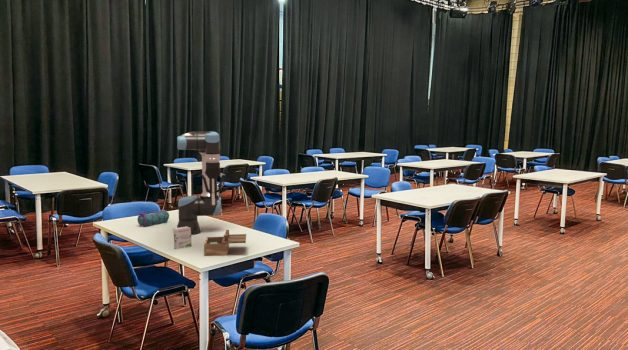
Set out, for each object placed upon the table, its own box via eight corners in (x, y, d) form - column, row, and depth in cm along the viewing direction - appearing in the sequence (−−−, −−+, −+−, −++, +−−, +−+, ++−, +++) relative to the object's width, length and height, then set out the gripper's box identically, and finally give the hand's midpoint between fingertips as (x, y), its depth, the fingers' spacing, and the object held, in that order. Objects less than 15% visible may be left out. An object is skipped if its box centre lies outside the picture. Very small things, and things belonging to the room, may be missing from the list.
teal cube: (209, 249, 264) (209, 242, 264) (217, 248, 265) (216, 241, 265) (210, 251, 260) (210, 244, 260) (217, 250, 262) (217, 243, 261)
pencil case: (161, 221, 342) (160, 207, 341) (169, 222, 337) (169, 209, 336) (136, 226, 324) (136, 212, 323) (145, 228, 320) (145, 213, 319)
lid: (223, 236, 268) (223, 229, 268) (246, 235, 269) (246, 228, 269) (221, 243, 252) (221, 236, 251) (245, 242, 253) (245, 235, 253)
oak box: (207, 249, 267) (207, 237, 267) (229, 248, 269) (228, 236, 268) (204, 257, 252) (203, 244, 251) (227, 256, 253) (227, 243, 252)
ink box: (187, 246, 274) (187, 225, 273) (191, 247, 271) (191, 227, 269) (173, 248, 269) (173, 228, 267) (177, 250, 265) (176, 229, 264)
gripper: (199, 162, 254) (200, 206, 257) (224, 162, 255) (225, 205, 259) (201, 161, 261) (202, 203, 264) (225, 161, 263) (226, 203, 266)
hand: (213, 204), depth 262 cm, fingers closed
